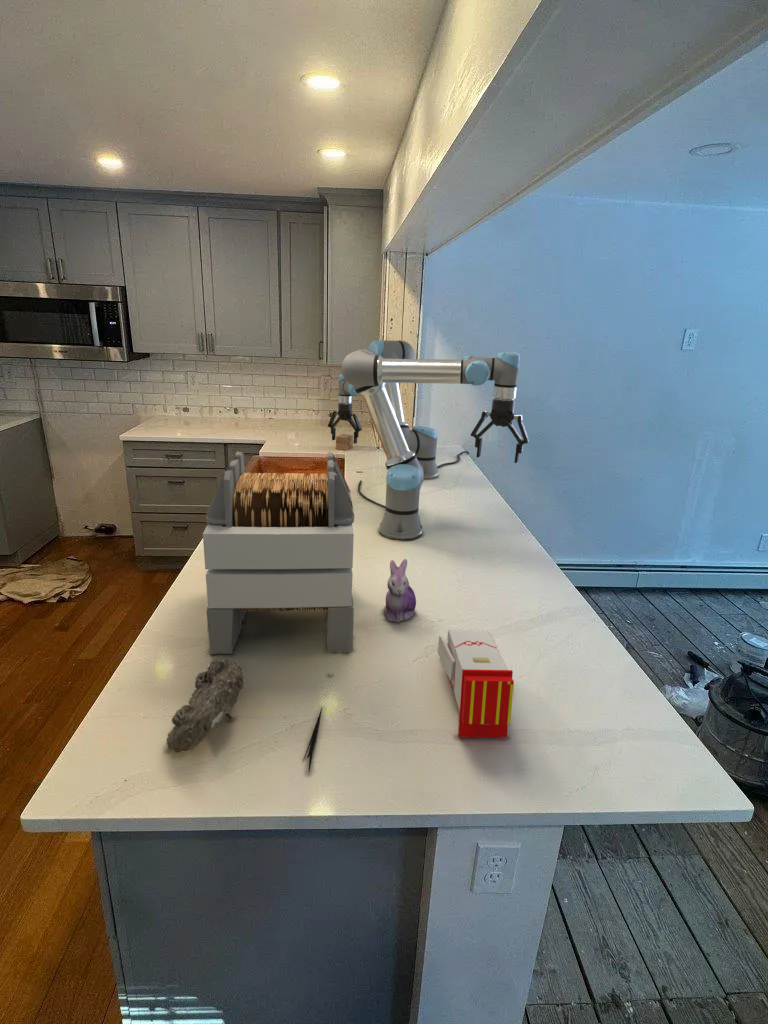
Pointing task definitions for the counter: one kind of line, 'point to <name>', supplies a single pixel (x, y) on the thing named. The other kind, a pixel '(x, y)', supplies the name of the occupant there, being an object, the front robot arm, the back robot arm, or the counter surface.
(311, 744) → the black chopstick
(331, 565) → the grey record crate
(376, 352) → the back robot arm
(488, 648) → the toy
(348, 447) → the brown cardboard box
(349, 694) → the counter surface
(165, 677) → the counter surface
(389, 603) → the figurine
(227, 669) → the fossil
